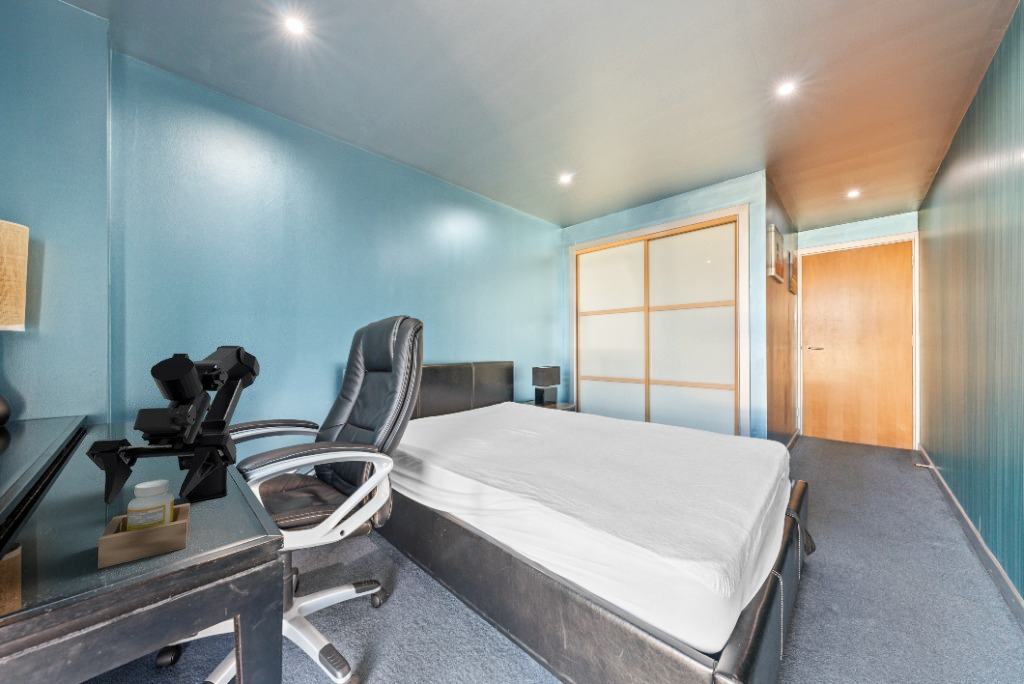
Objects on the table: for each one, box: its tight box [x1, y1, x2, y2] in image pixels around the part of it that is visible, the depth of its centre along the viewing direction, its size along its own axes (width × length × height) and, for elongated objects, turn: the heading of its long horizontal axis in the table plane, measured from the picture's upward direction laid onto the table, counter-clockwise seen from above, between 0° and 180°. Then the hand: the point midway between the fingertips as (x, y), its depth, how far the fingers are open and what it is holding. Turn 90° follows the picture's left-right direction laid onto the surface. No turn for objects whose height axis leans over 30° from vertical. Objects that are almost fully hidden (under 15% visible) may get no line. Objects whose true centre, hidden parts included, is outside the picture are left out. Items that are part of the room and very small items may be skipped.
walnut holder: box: [97, 502, 191, 570], centre depth 60 cm, size 9×9×4 cm
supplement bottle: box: [126, 479, 175, 531], centre depth 60 cm, size 5×5×10 cm
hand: (144, 499), depth 59 cm, fingers open, 9 cm apart
